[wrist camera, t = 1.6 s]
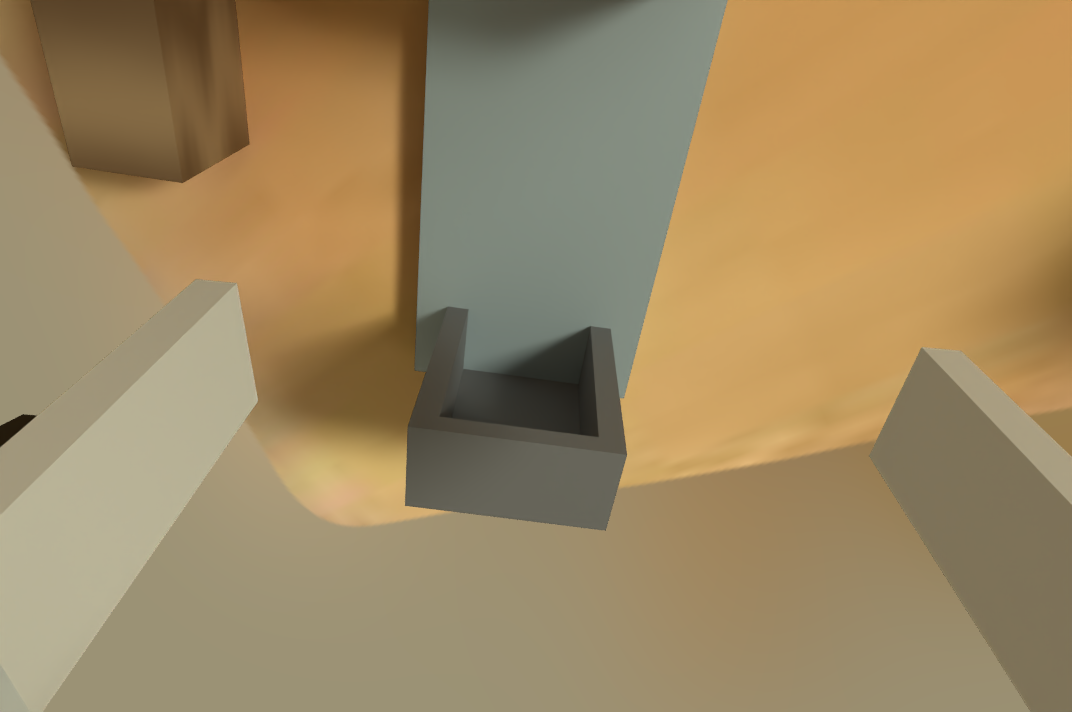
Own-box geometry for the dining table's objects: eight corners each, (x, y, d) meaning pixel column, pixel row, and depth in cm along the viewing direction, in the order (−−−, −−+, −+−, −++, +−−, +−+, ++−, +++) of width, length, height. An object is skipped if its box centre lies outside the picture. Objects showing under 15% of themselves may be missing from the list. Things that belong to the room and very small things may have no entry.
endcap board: (448, -287, 20) (355, -488, 11) (776, -229, 21) (942, -378, 12) (420, 355, 34) (367, 500, 25) (621, 381, 34) (642, 535, 25)
